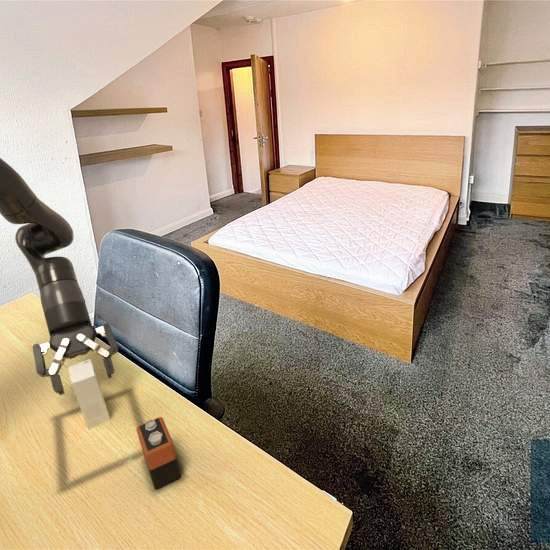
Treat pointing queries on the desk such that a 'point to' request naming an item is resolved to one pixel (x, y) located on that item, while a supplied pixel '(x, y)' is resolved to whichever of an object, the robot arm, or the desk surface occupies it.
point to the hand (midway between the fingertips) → (86, 385)
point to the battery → (159, 452)
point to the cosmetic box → (88, 393)
